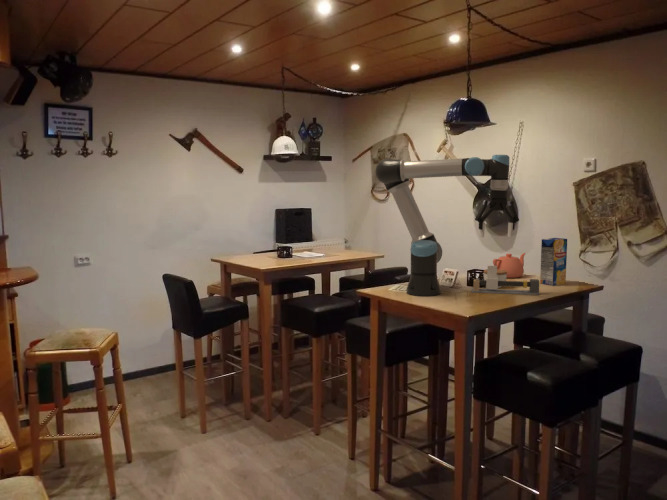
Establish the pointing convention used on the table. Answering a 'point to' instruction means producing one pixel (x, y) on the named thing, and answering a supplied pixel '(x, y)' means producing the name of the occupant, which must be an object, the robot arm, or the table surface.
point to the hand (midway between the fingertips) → (495, 237)
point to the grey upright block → (492, 278)
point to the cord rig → (532, 284)
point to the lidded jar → (498, 275)
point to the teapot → (510, 265)
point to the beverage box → (553, 261)
